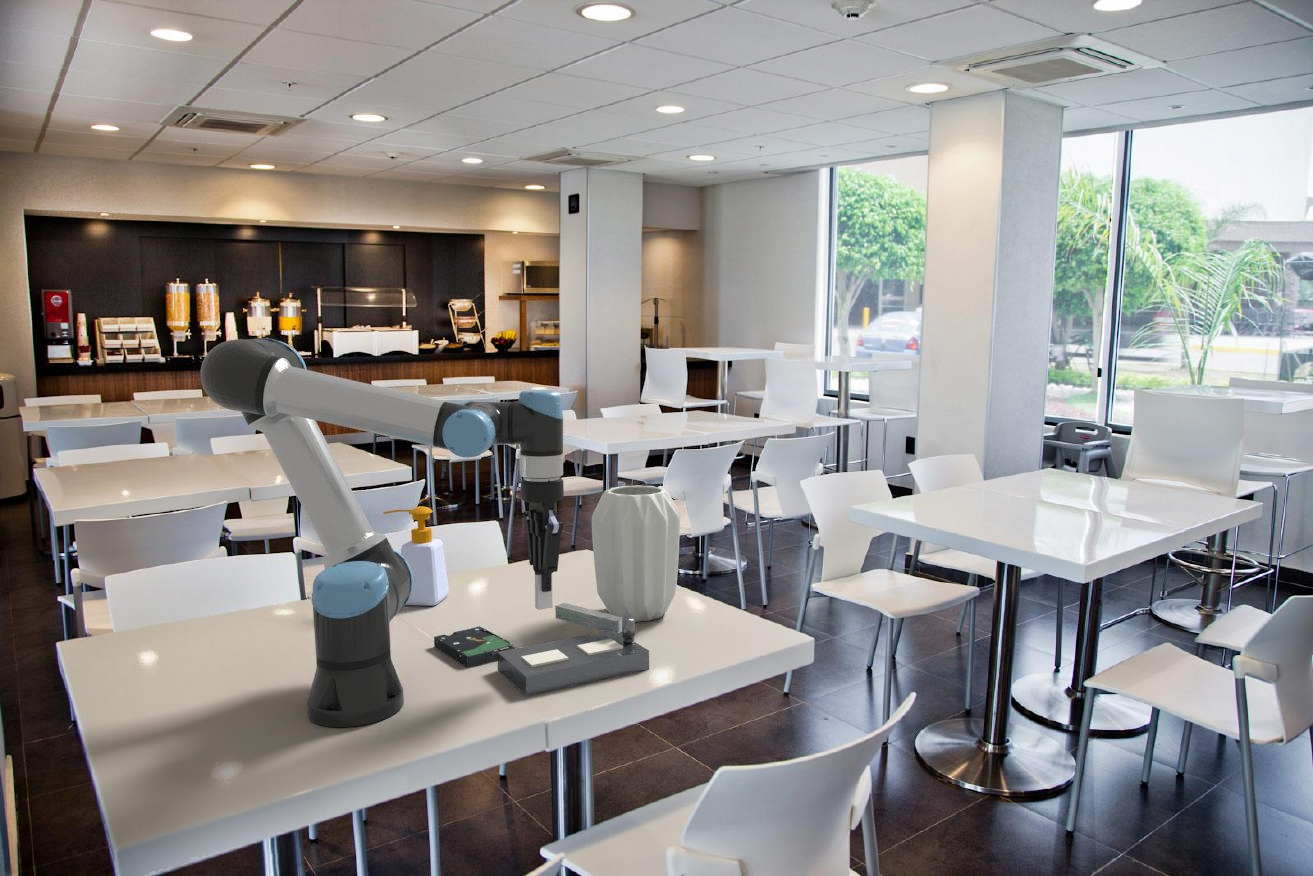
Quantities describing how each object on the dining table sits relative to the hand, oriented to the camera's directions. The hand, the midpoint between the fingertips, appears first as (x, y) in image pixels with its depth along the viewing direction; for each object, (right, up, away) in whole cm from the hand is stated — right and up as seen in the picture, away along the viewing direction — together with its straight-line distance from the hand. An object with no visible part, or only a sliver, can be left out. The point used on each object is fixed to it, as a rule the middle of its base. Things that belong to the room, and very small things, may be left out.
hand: (543, 607), depth 163 cm
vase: (+16, -8, +36) cm, 40 cm away
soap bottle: (-36, -8, +48) cm, 60 cm away
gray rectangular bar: (+8, -6, +13) cm, 16 cm away
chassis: (+5, -12, +3) cm, 13 cm away
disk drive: (-15, -12, +14) cm, 24 cm away
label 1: (0, -9, -1) cm, 9 cm away
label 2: (+10, -8, +5) cm, 14 cm away
